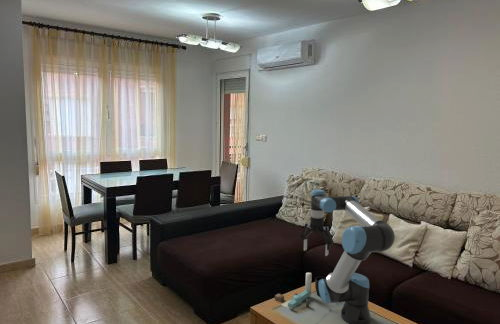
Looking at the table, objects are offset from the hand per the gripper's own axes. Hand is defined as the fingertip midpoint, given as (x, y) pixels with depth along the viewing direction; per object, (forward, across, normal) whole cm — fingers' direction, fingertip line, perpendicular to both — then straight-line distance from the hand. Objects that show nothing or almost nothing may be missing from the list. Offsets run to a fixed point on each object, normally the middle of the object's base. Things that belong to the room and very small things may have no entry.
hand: (315, 252), depth 209 cm
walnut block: (+26, +12, +16) cm, 33 cm away
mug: (+28, -3, -8) cm, 29 cm away
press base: (+28, +4, +15) cm, 32 cm away
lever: (+25, +3, +11) cm, 28 cm away
